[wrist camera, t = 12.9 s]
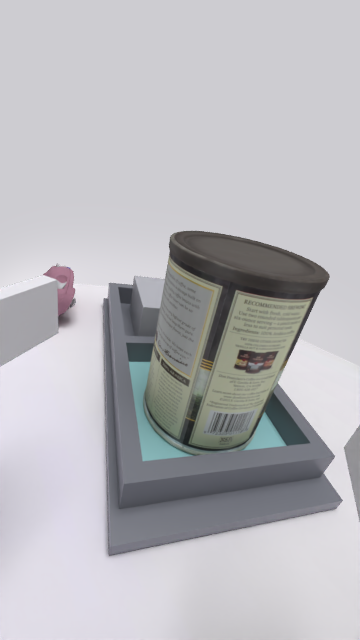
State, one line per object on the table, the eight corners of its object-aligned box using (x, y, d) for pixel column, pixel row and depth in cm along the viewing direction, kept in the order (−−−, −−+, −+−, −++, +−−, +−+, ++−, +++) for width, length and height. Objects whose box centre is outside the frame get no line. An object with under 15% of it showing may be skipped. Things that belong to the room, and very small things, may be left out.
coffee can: (201, 358, 31) (238, 232, 24) (278, 424, 24) (356, 274, 18) (119, 387, 24) (139, 225, 18) (193, 486, 18) (267, 288, 11)
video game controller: (56, 340, 33) (85, 294, 31) (15, 326, 30) (45, 275, 29) (56, 304, 41) (80, 265, 39) (24, 290, 38) (48, 248, 37)
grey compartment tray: (203, 311, 45) (212, 277, 42) (336, 508, 20) (380, 455, 17) (103, 304, 40) (106, 265, 37) (109, 555, 15) (119, 491, 12)
